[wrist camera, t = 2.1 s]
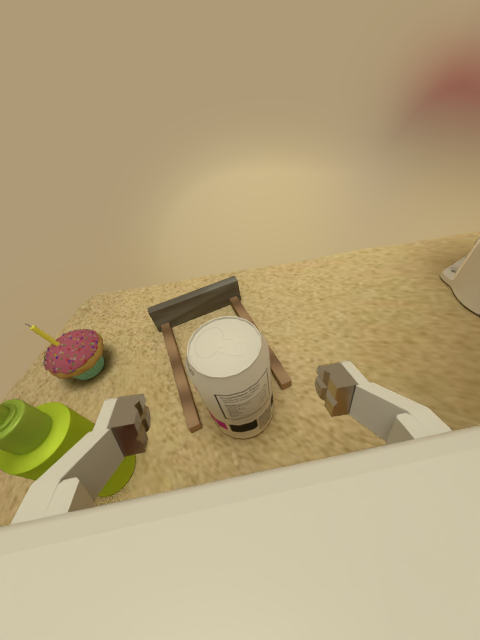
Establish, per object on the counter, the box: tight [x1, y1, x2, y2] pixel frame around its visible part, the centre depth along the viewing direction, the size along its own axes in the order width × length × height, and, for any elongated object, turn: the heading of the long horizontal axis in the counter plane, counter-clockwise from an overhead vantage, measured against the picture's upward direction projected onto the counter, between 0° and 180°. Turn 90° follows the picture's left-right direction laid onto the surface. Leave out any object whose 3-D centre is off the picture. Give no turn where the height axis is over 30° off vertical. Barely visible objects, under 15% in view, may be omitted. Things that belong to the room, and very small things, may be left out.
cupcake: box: [25, 323, 104, 380], centre depth 38 cm, size 9×8×12 cm
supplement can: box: [185, 316, 274, 439], centre depth 28 cm, size 8×8×15 cm
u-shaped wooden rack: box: [148, 276, 291, 433], centre depth 39 cm, size 22×16×5 cm
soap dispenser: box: [0, 399, 136, 497], centre depth 23 cm, size 6×7×20 cm
